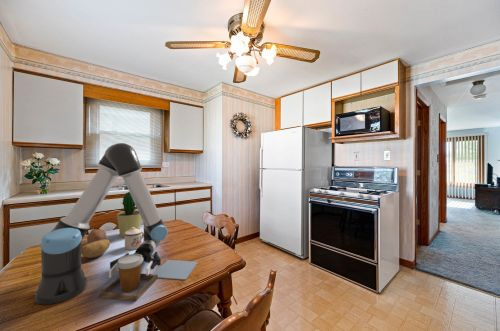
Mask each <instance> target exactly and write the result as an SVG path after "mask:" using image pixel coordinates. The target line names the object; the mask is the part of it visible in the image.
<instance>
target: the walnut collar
mask: <svg viewBox="0 0 500 331" xmlns="http://www.w3.org/2000/svg"><path fill="white" fill-rule="evenodd" d="M158 279H159V278H158V275H156V274H154V273H149V275H146V273H142V272H141V275H140V280H148V281H147V282H146V283H145V284H144V285H143V286H142V287H141V288H140V289H139V290H138V291H137V292H136V293H126V292H113V291H112V292H111V290H113V289H114V288H115V287H116V286H118V285H119V284H120V277H119V276H118V278H116V279H115V280H114V281H112V282H111V283H109V284H108V286H106V287H104V288H103V289H102V290H100V291H99V292H98V298H99V299H109V300H119V301H132V302H136V301H138V300H139V299H140V298H141V297H142V296H143V294H145V293H146V292H147V290H148V289H149V288H151V287H152V285H153V284H154V283H155V282H156V281H157V280H158Z"/></svg>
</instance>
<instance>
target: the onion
mask: <svg viewBox="0 0 500 331" xmlns="http://www.w3.org/2000/svg"><path fill="white" fill-rule="evenodd" d="M106 238H107V234H106V232H105V231H104V230H103V229H96V228H93V229H92V230H90V231H89V233H87V237H86V240H87V242H88V244H89V243H92V242H95V241H99V240H103V239H106ZM106 240H107V239H106Z"/></svg>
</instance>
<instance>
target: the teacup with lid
mask: <svg viewBox="0 0 500 331" xmlns="http://www.w3.org/2000/svg"><path fill="white" fill-rule="evenodd" d="M124 235H125V237H124V249H125V250H128V251H131V250H137V248H138V247H139V246H140V245H141V244H142V240H144V231H143V230H142V229H140V230H139V229H135V227H132V228H131V229H130V230H129V231H126V232H125V234H124Z"/></svg>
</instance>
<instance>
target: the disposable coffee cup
mask: <svg viewBox="0 0 500 331" xmlns="http://www.w3.org/2000/svg"><path fill="white" fill-rule="evenodd" d="M122 256H123V257H122ZM122 256H120V257H121V258H120V257H119V258H120V259H119V260H118V262H117V267H118V270H117V271H118V278H119V277H120V283H119V284H120V290H121V292H122V293H130V292H134V291H135V290H137V289H138V288H139V287H140V280H141V279H140V275H141V273H142V267H143V262H144V261H143V257H142V255H140V254H134V253H129V255H126V256H124V255H122Z"/></svg>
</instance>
